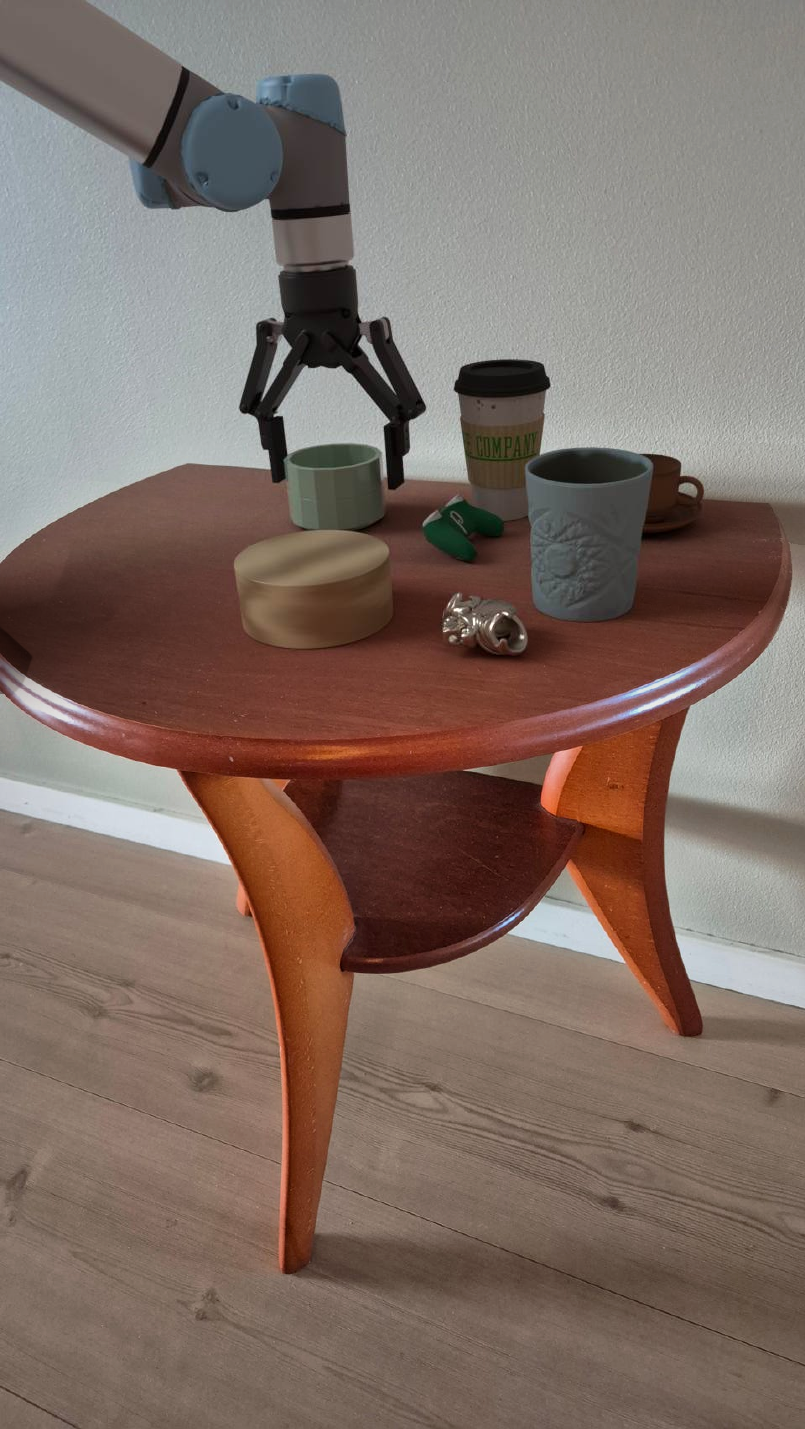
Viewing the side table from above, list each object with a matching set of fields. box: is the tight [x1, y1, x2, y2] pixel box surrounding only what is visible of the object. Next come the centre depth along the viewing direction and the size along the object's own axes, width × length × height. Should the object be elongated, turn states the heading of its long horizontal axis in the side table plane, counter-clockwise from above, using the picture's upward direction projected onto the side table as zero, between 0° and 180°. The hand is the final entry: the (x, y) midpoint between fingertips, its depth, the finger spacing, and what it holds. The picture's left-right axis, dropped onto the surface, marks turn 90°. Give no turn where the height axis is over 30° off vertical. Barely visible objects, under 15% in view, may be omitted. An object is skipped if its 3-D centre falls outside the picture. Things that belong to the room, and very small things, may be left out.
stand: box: [233, 530, 394, 650], centre depth 84 cm, size 13×13×6 cm
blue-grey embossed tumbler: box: [525, 446, 653, 623], centre depth 82 cm, size 10×10×12 cm
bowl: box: [284, 442, 387, 532], centre depth 106 cm, size 10×10×7 cm
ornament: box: [441, 592, 529, 657], centre depth 78 cm, size 8×7×4 cm
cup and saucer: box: [639, 453, 705, 534], centre depth 100 cm, size 12×12×6 cm
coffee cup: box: [453, 358, 552, 522], centre depth 103 cm, size 10×10×15 cm
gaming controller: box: [421, 492, 505, 563], centre depth 98 cm, size 9×4×6 cm
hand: (337, 483), depth 106 cm, fingers open, 13 cm apart
